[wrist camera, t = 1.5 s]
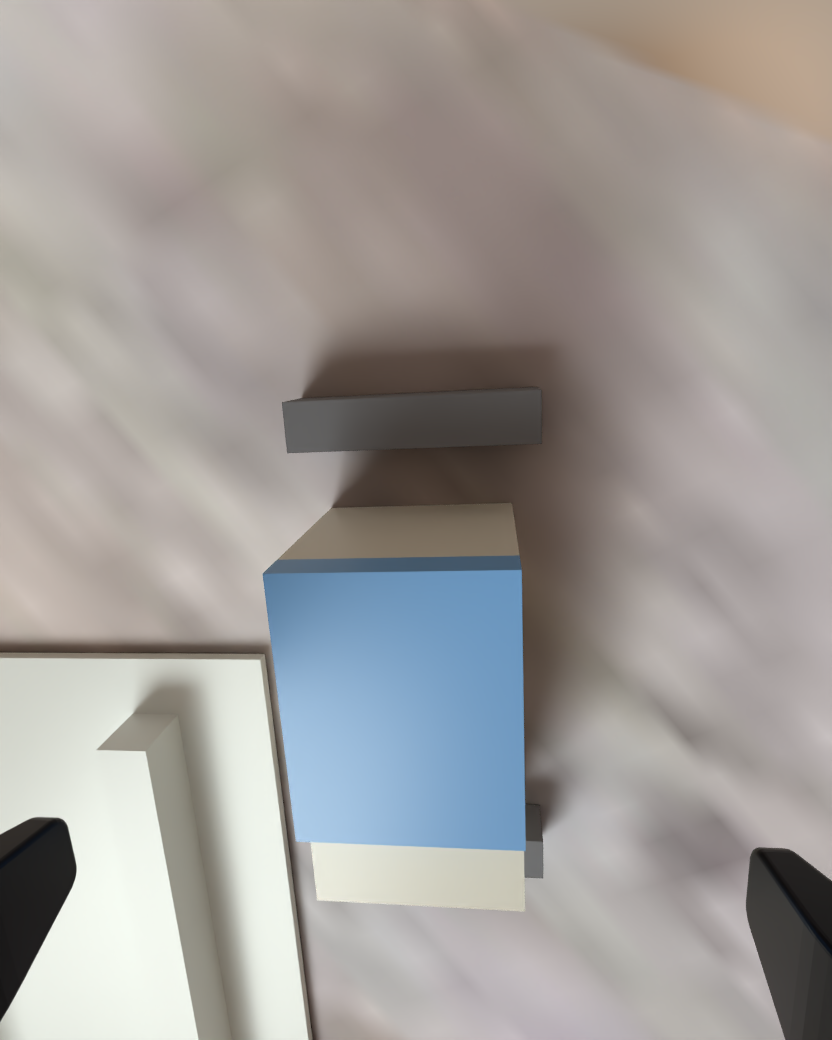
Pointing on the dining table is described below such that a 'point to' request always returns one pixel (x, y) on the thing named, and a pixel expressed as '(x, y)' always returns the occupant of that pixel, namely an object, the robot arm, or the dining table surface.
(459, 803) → the plug
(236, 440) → the dining table surface
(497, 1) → the dining table surface
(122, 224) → the dining table surface
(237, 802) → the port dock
